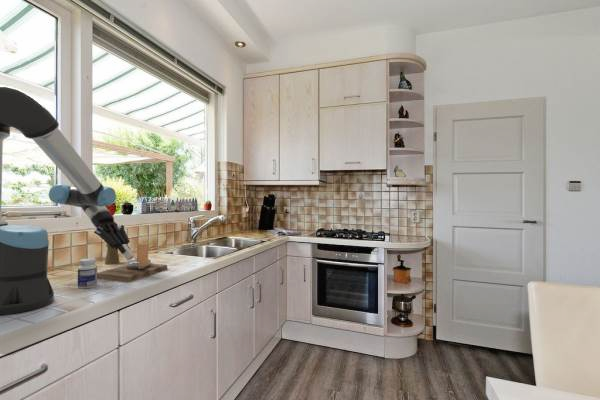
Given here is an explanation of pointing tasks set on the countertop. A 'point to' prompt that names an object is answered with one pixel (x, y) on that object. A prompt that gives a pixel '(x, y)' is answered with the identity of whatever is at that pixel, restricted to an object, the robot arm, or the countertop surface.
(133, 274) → the wooden board
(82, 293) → the countertop surface
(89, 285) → the pill bottle
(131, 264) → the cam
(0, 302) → the robot arm
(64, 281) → the countertop surface
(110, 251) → the olive flared column
